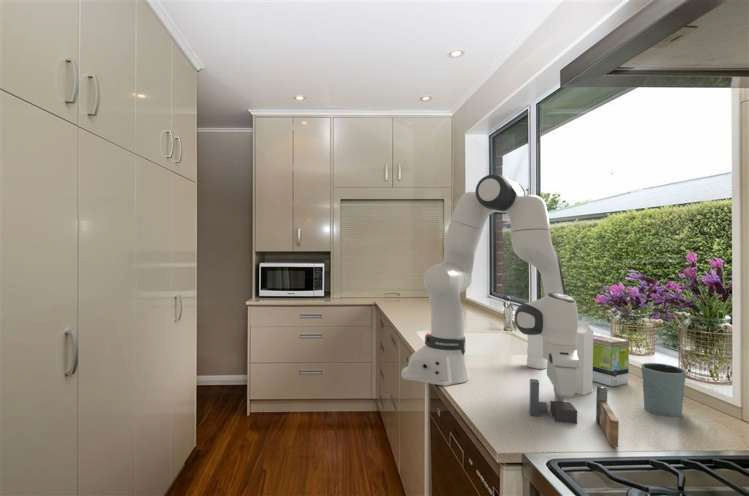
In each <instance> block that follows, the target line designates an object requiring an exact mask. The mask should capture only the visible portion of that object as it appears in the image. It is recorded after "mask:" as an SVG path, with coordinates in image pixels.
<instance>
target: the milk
mask: <svg viewBox="0 0 749 496" xmlns="http://www.w3.org/2000/svg"><path fill="white" fill-rule="evenodd" d="M593 334H594V331H593V329H591V327H590V322H589V321H584V320H583V321H582V320H578V330H577V334H576V338H577V341H578V358H579V368H576V369H577V378H576V389H575V394H578V395H582V396H584V395H587V394H589V393H591V392H593V381H592V379H593Z"/></svg>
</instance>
